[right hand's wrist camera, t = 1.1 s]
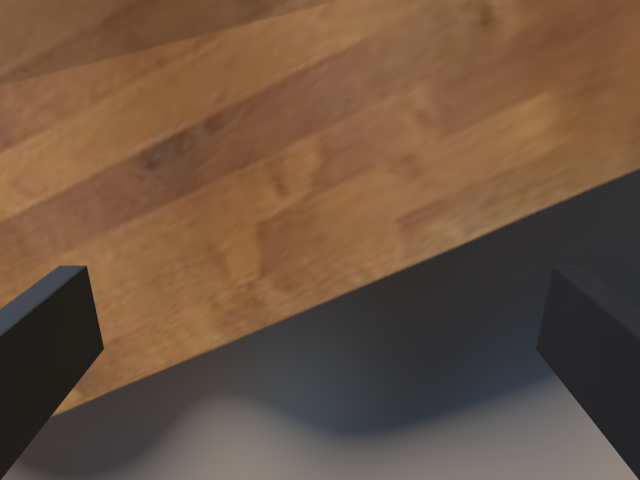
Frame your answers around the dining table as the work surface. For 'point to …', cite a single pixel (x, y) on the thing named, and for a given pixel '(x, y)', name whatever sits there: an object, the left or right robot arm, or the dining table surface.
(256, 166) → the dining table surface
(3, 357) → the right robot arm
